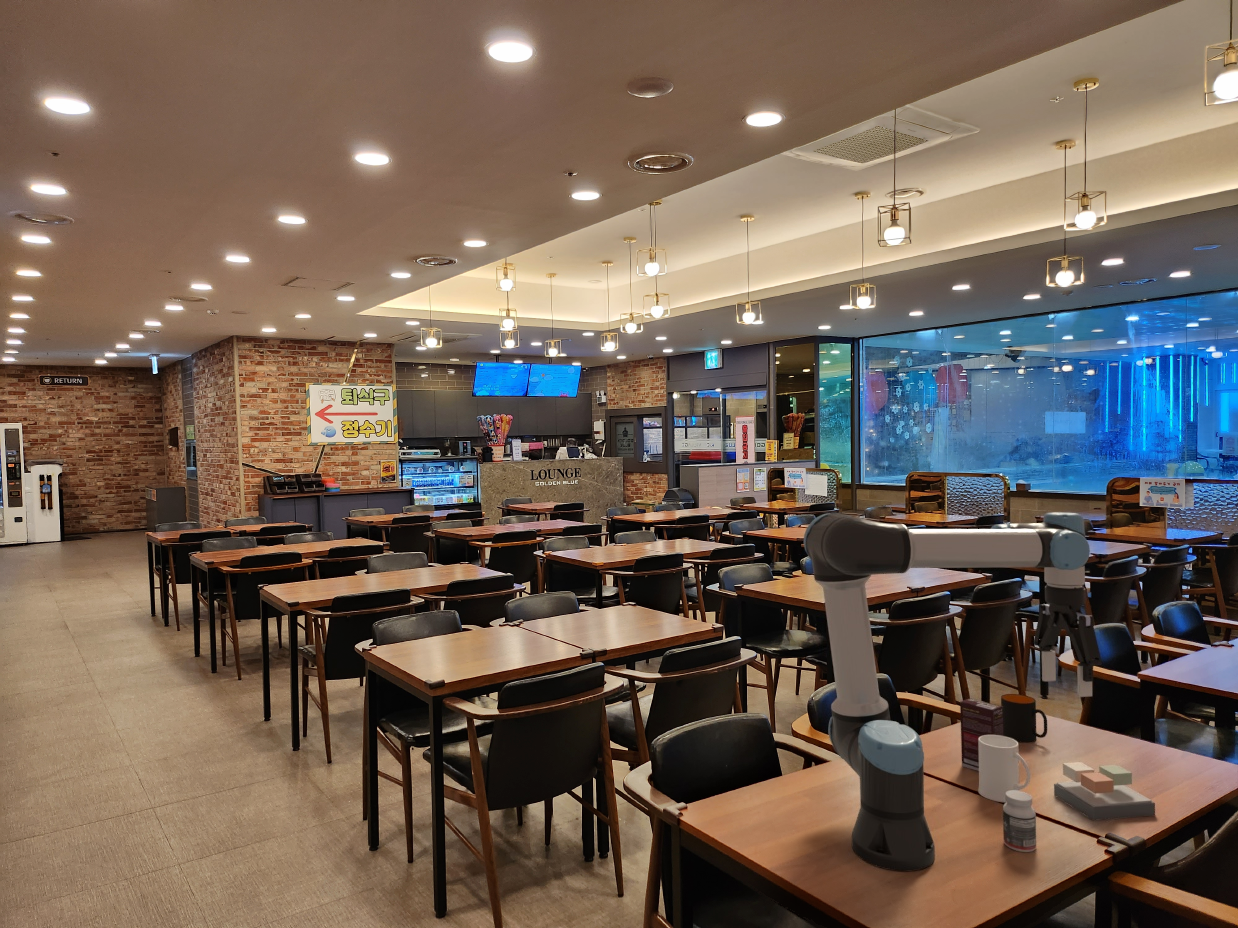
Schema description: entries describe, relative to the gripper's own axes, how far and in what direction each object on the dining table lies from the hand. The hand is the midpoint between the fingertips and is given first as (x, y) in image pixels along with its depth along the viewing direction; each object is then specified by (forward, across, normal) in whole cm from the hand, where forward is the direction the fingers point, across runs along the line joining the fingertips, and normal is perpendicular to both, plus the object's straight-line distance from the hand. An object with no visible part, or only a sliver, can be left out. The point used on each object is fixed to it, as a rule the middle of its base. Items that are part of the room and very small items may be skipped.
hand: (1066, 687), depth 166 cm
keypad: (+26, 0, -8) cm, 27 cm away
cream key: (+21, +3, -4) cm, 21 cm away
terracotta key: (+21, -3, -4) cm, 21 cm away
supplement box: (+26, +22, +6) cm, 34 cm away
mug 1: (+26, +38, -16) cm, 49 cm away
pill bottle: (+26, -13, +20) cm, 35 cm away
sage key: (+21, 0, -11) cm, 23 cm away
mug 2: (+26, +7, +10) cm, 29 cm away
